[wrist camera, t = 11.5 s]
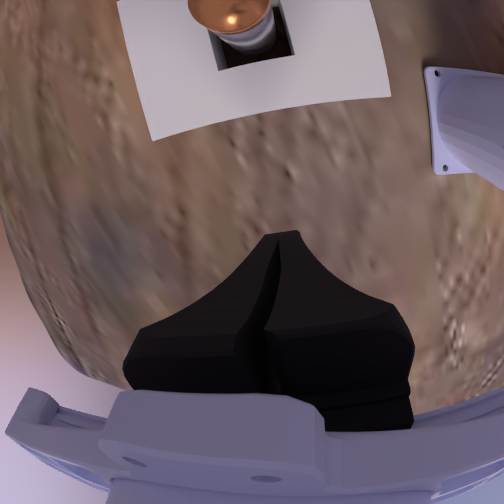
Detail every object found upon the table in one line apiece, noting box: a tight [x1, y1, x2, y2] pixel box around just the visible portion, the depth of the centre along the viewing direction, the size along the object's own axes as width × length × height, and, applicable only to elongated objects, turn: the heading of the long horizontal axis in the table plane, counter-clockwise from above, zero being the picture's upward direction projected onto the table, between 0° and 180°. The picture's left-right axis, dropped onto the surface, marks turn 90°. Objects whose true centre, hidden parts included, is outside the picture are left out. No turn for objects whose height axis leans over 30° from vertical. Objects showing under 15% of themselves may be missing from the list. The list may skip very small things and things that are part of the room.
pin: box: [188, 0, 276, 56], centre depth 11 cm, size 3×3×9 cm
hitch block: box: [117, 0, 391, 141], centre depth 14 cm, size 14×10×4 cm
